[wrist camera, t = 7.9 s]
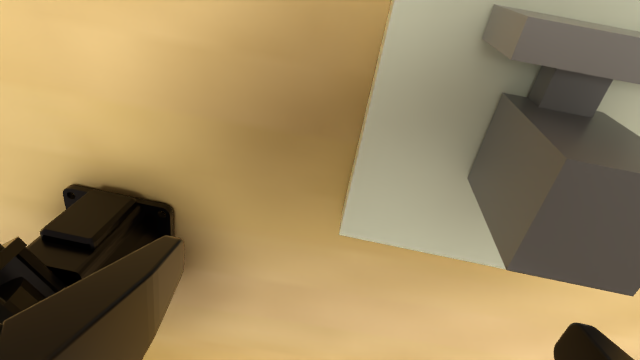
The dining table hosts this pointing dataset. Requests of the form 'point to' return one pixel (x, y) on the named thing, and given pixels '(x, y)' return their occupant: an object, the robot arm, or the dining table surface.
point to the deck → (449, 121)
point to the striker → (562, 155)
